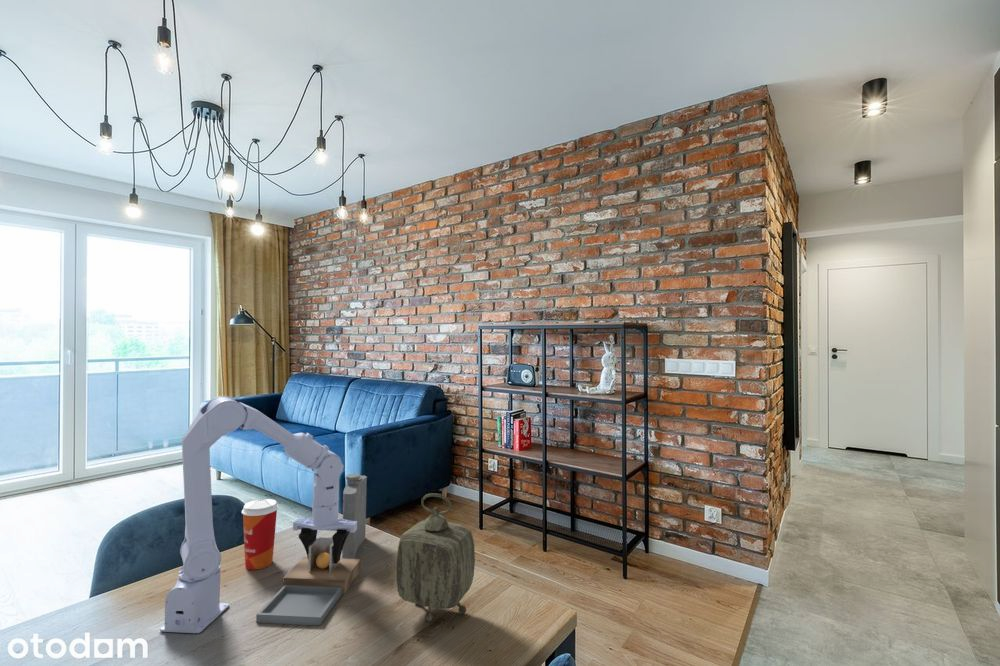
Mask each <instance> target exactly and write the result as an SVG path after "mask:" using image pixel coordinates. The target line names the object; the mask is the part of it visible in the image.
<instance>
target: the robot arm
mask: <svg viewBox="0 0 1000 666" xmlns="http://www.w3.org/2000/svg"><path fill="white" fill-rule="evenodd" d="M239 428H240V429H241V430H243V431H248V430H250V431H251V430H256V431H258V432H259V433H261V434H263V435H265V436H267V437H268V438H270V439H272V440H273V441H275V442H277V443H279V444H280V445H282V446H283V448H284V454H285V456H287V457H289V458H290V459H292V460H294V461H296V462H297V463H299V464H300V465H302V466H304V467H305V468H307V469H310V470H311V471H312V472H314V473H313V485H312V517H311V518H297V519H296V520H294V521H293V522H292V531H298V530H300V533H299V534H298V539H299V540H300V542H301V543H302V545H303V547H304V550H305V553H306V557H308V558H309V545H310V544H311V543H312V542H313V541H314V540H315V539H316V538H317V537H318V535H317V534H318V531H330V532H331V531H333V532H335V533H334V534H333V535H332V536H331V537H332V538H333V544H334V564H337V563H338V562H339V560H340V558H342V549H343V546H344V543H345V541H346V538H347V536H348V534H349V532H350V533H354V532H355V531H356V530H357V521H350V520H345V519H343V518H339V500H340V499H339V497H340V475H341V474H342V472H343V470H344V464H343V461H342V459H341V457H340V456H339V455H338V454H336V453H335V452H333V451H331V450H330V449H329V448H330V447H329V446H328V445H326V444H323V445H322V444H321V443H319V442H318V441H316V440H315V439H313V438H314V436H313V435H312V434H310V433H309V432H306V433H304V432H297V433H292V432H291V431H289V430H287V429H286V428H285V427H283V426H282V425H281V424H279V423H277V422H276V421H275V420H273V419H272V418H270V417H268V416H267V415H266V414H264V413H263V412H261V411H259V410H258V409H256V408H254V407H252V406H250V405H247V404H245V403H243V402H241V401H239V402H238V401H236V399H234V398H233V397H230V396H229V395H218V396H216V397H214V398H212V399H210V400H209V401H207V403H205V404H204V405H202V406H201V407H200V408H199V411H198V412H197V414H196V416H195V418H194V419H193V420H192V422H191V424H190V426H189V427H188V428H187V429H186V431H185V433H184V435H183V436H182V440H181V450H182V473H183V492H184V493H183V495H184V498H183V499H184V515H185V516H184V520H185V522H184V523H185V528H184V540H183V541H182V543H181V545H180V549H179V554H180V556H181V559H182V564H183V566H182V567H181V568H180V570H179V571H178V575H177V580H176V584H175V585H174V586H173V588H172V589H171V590H170V591H168V593H167V594H166V597H165V601H164V625H163V626H161V627H160V629H159V631H160V632H165V633H184V634H199V633H202V632H203V630H205V629H206V628H207V627H208V626H209V625H210V624H211V623H213V622H214V621H215V620H216V618H218V617H219V616H220V615H221V614H222V613H224V611H225V610H226V609H227V608H229V607H230V603H224V602H221V600H220V599H221V567H222V566H221V562H222V555H221V552H220V550H219V548H218V546H217V543H216V538H215V531H214V522H213V520H214V519H213V500H212V499H213V497H212V475H211V451H210V450H211V447H212V446H213V445H214V444H216V442H218V440H220V439H221V438H222V437H223V436H225V435H227V434H229V433H233V432H234V431H236V430H237V429H239Z"/></svg>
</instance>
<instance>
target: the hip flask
mask: <svg viewBox="0 0 1000 666" xmlns="http://www.w3.org/2000/svg"><path fill="white" fill-rule="evenodd" d="M345 479H346V485H345V487H344V489H343V492H342V494H343V495H342V496H343V497H342V501H343V502H342V519H345V520H350V521H357V530H356V531H355V532H354V533H350V532H349V534H348V536H347V538H346V541H345V543H344V546H343V549H342V552H341V559H356V555H357V552H358V550H359V548H360V546H361V545H362V543H363V542H364V541H365V540H366V530H367V529H366V528H367V527H366V525H367V522H366V520H367V481H368V480H367V479H368V476H366V475H361V474H359V473H350V474H347V475H346V476H345Z"/></svg>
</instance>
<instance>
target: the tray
mask: <svg viewBox="0 0 1000 666" xmlns="http://www.w3.org/2000/svg"><path fill="white" fill-rule="evenodd" d="M342 595H343V594H342V587H322V586H299V585H284V586H283V585H282V587H281V588H280V589H279V590H278V591H277V592H276V593H274V596H273V597H271V598H270V600H269V601H268V602H267V603H266V604H265V605H264V606H263V607H262V608H261V609H260V610H259V611H258V612H257V613H256V616H255V617H256V618H255V619H256V621H255V623H261V624H279V625H280V624H281V625H283V624H284V625H299V626H301V625H303V626H321V625H322V624H323V623H324V621H325V620H326V618H327V617H328V616H329V614H330V613H331V611H332V610H333V608H334V607H335V605H336V603H338V601H339V599H341V597H342Z"/></svg>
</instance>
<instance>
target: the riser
mask: <svg viewBox="0 0 1000 666" xmlns="http://www.w3.org/2000/svg"><path fill="white" fill-rule="evenodd" d="M360 573H361V559H360V558H355V559H342V557H340V563H339V564H338V565H337V566H336V568H335V569H334V570H333V571H332V573H329V566H328V567H327V568H323V569H322V568H319V567H318V566H317V565H316V566H315V567H314V568H313V570H312V571H311V572H308V557H307V556H303V557H302V558H301V559H300V560H299V561H298V562H297V563H296V564H295V565H294V566H293V567H292V568H291V569H290V570H289V571H288V572H287V573H286V574H285V575H284V576H283V578H282V582H283V583H282V587H283V586H284V585H299V586H322V587H342V595H345V594H346V593H347V592H348V590H349V588H350V587H351V585H352V584H353V583H354V582H355V580H356V578H357V577H358V576H359V574H360Z"/></svg>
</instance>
